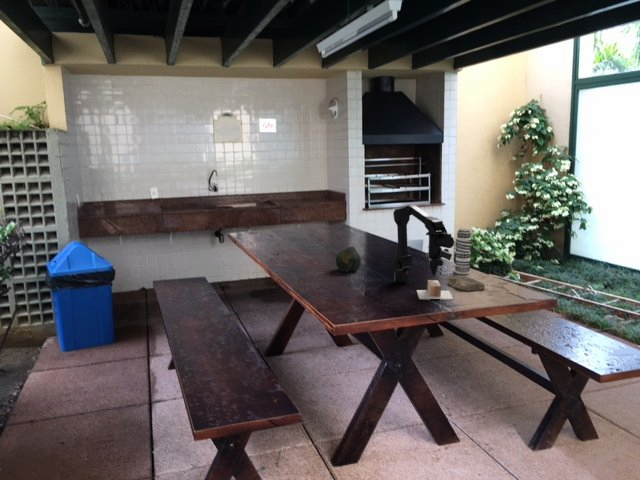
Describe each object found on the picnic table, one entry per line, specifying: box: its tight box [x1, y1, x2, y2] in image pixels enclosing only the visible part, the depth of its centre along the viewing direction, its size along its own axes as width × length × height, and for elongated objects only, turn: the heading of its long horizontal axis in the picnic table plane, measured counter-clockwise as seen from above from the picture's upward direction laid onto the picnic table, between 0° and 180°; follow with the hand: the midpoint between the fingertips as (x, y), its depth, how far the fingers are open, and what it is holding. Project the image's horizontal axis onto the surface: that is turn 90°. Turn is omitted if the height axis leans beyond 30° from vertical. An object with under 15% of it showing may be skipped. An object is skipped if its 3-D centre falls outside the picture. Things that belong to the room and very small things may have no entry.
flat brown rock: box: [447, 274, 486, 292], centre depth 276 cm, size 14×5×20 cm
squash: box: [335, 246, 362, 273], centre depth 310 cm, size 14×15×15 cm
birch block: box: [427, 279, 442, 297], centre depth 261 cm, size 5×5×12 cm
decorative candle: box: [454, 228, 473, 275], centre depth 303 cm, size 9×9×25 cm
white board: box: [416, 289, 454, 301], centre depth 259 cm, size 16×14×1 cm
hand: (433, 275), depth 263 cm, fingers closed
